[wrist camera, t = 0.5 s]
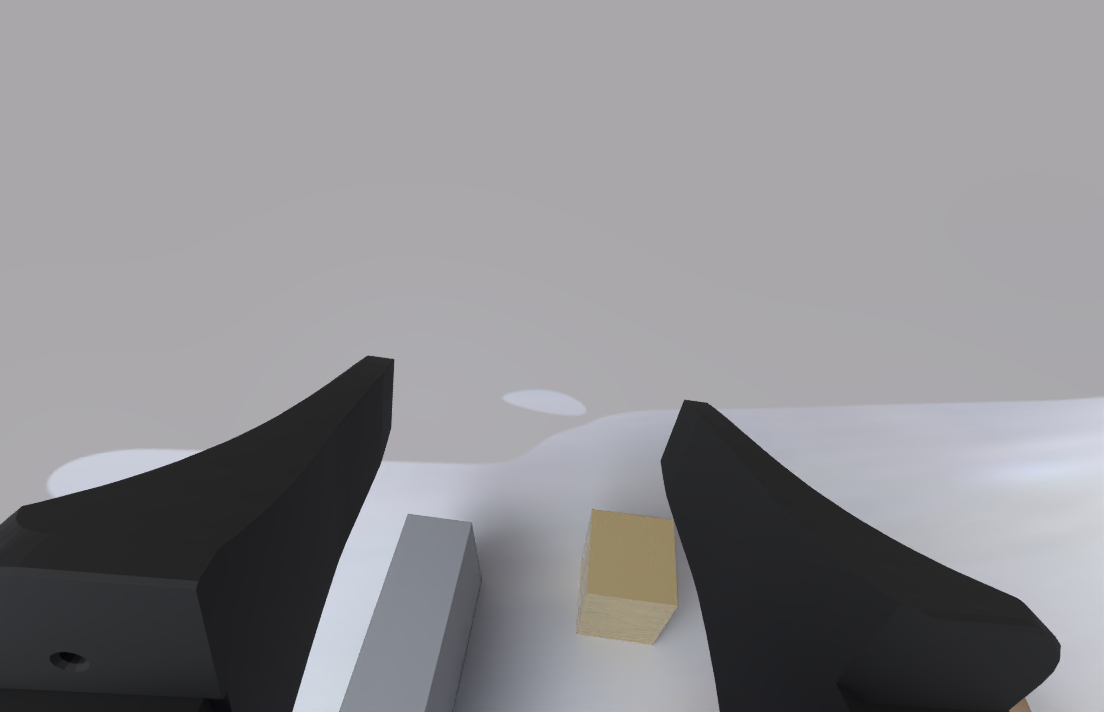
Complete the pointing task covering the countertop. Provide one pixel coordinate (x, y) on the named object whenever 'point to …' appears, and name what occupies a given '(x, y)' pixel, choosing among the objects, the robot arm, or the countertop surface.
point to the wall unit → (419, 622)
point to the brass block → (627, 577)
